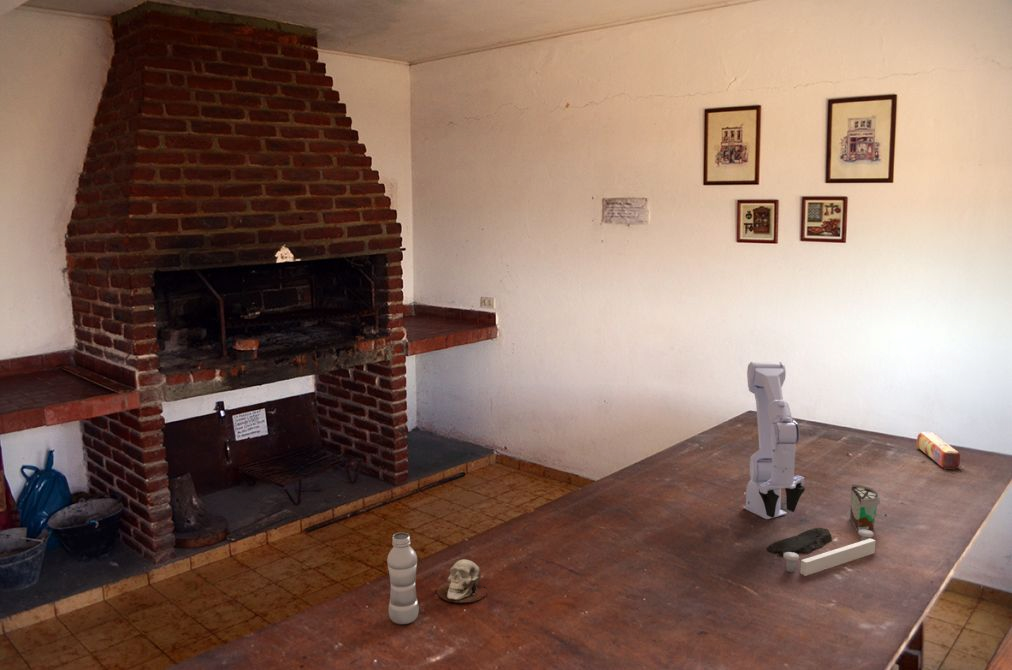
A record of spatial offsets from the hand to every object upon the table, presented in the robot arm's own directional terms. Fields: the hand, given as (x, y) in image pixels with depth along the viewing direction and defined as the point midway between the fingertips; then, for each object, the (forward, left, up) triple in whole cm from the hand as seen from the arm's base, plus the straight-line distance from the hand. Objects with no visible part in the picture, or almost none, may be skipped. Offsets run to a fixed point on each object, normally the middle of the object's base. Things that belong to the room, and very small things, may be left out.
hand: (780, 513), depth 214 cm
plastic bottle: (-8, -105, -6) cm, 106 cm away
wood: (+8, 0, -7) cm, 10 cm away
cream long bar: (+17, 0, -6) cm, 18 cm away
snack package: (-17, +93, -6) cm, 94 cm away
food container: (+8, +25, -6) cm, 27 cm away
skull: (-13, -89, -6) cm, 90 cm away
